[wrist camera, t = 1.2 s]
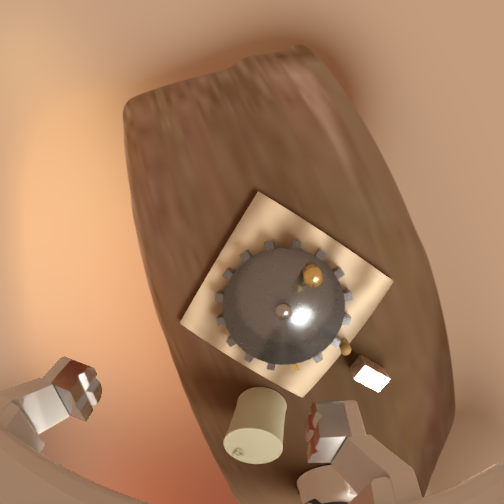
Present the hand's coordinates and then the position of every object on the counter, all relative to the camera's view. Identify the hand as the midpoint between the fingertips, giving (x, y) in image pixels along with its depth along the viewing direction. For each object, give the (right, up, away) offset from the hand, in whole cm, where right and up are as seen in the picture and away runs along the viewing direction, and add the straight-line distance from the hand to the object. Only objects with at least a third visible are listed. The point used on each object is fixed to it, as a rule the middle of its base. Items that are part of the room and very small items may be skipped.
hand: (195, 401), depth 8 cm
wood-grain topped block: (+22, -15, +33) cm, 42 cm away
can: (+4, -23, +36) cm, 43 cm away
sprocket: (+7, -3, +32) cm, 33 cm away
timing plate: (+7, -3, +34) cm, 35 cm away
